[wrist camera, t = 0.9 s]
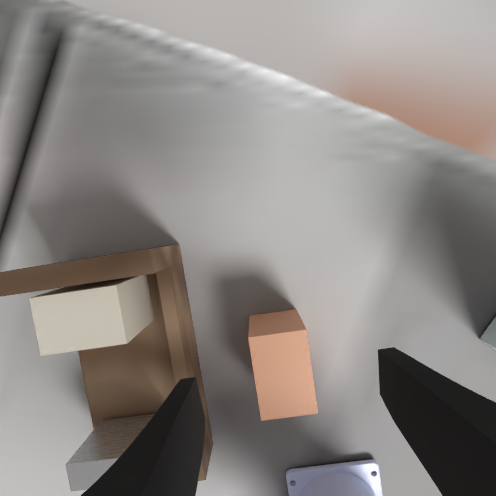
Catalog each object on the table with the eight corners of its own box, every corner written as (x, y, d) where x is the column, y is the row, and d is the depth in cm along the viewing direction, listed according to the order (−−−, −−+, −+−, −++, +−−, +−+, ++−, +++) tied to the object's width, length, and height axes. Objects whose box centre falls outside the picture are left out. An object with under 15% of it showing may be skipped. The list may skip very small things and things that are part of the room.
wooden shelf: (212, 443, 25) (197, 521, 18) (104, 457, 25) (50, 537, 19) (179, 243, 24) (149, 249, 17) (66, 261, 24) (-6, 273, 18)
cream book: (154, 319, 24) (126, 343, 19) (85, 329, 24) (40, 355, 19) (146, 273, 23) (116, 285, 18) (77, 283, 24) (28, 298, 19)
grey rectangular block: (173, 433, 24) (153, 481, 19) (105, 442, 24) (70, 491, 20) (169, 411, 24) (149, 454, 19) (101, 420, 24) (65, 464, 20)
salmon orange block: (295, 308, 24) (306, 329, 19) (305, 375, 24) (318, 413, 19) (249, 315, 24) (248, 337, 19) (260, 381, 24) (261, 420, 19)
